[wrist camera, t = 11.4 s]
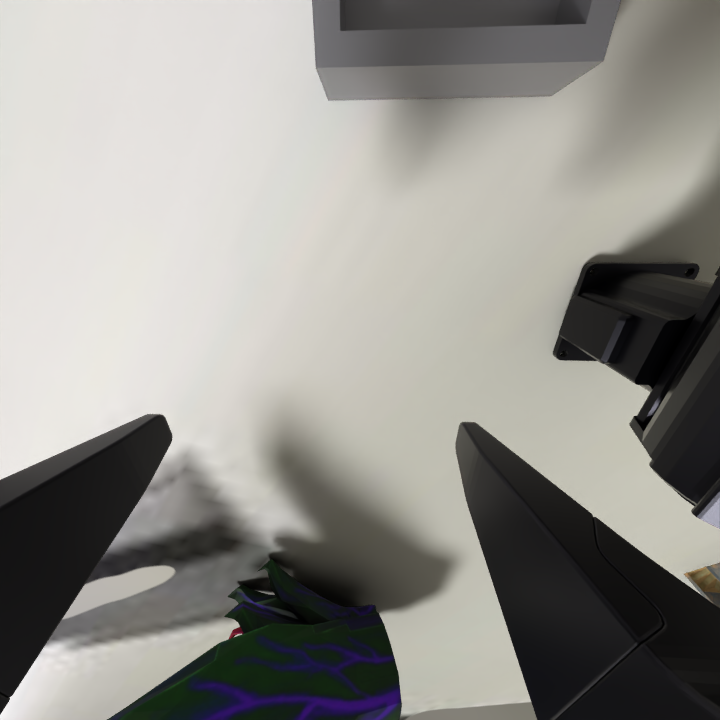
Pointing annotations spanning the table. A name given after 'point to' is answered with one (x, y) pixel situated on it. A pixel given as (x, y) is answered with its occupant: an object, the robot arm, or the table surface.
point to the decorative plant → (284, 664)
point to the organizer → (457, 46)
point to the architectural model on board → (707, 582)
